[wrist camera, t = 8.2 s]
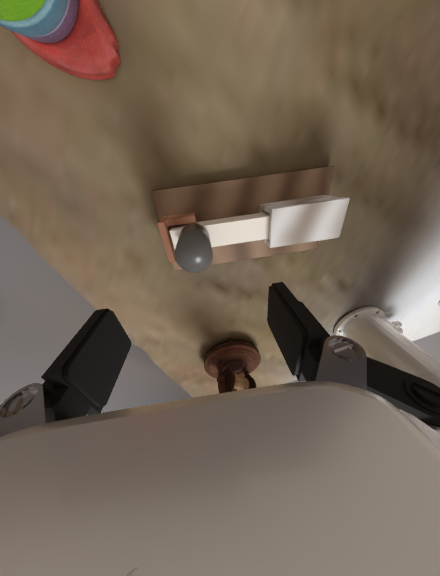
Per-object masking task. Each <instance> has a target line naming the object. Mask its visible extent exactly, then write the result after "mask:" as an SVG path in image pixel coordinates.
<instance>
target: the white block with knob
mask: <svg viewBox="0 0 440 576" xmlns="http://www.w3.org/2000/svg"><path fill="white" fill-rule="evenodd" d="M269 228H270V213H268V212H263V213H256V214H249V215H242V216H235V217H228V218H222V219H215V220H208V221H201V222H194V223H187V224H180V225H173V226H172V227H171V229H170V235H171V238H172V242H173V245H174V249H175V253H174V255H175V260H176V262H177V264H178V265H179V266H180V267H181V268H182V269H183V270H185V271H188V272H192V273H197V272H201V271H203V270H205V269H206V268H208V267H209V265H210V264H211V262H212V259H213V252H212V247H217V246H224V245H230V244H237V243H244V242H250V241H257V240H264V239H269Z"/></svg>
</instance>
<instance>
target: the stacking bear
mask: <svg viewBox="0 0 440 576" xmlns="http://www.w3.org/2000/svg"><path fill="white" fill-rule="evenodd" d="M0 26H2V27H4V28H6V29H8V30H10V31H11V32H12V33H13V34H14V35H15V36H16V37H17V38H18V39H19V40H20V41H21V42H22V43H23V44H24V45H25V46H26V47H27V48H28V49H30V50H31V51H32V52H33V53H35V54H36V55H37V56H39V57H40V58H42V59H43V60H45V61H46V62H48V63H49V64H51V65H53V66H54V67H56V68H58V69H60V70H62V71H64V72H67V73H69V74H71V75H74V76H77V77H80V78H84V79H90V80H105V79H110V78H113V77H114V76H115V75H116V70H117V68H118V67H119V65H120V60H121V59H120V55H119V53H118V49H119V46H118V41H117V38H116V35H115V33H114V32H113V30H112V28H111V27H110V25H109V24H108V22H107V20H106V18H105V17H104V15H103V13H102V10H101V8H100V6H99V3H98V1H97V0H0Z"/></svg>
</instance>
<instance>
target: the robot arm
mask: <svg viewBox="0 0 440 576" xmlns="http://www.w3.org/2000/svg"><path fill="white" fill-rule="evenodd" d="M267 321H268V325H269V327H270V329H271V331H272V333H273V335H274V338H275V340H276V342H277V344H278V346H279V348H280V350H281V352H282V354H283V357H284V359H285V361H286V363H287V365H288V367H289V369H290V371H291V373H292V375H296V377H297V379H298V381H305V380H306V382H296V383H287V384H280V385H273V386H266V387H258V388H252V389H246V390H239V391H233V392H227V393H220V394H214V395H208V396H202V397H195V398H189V399H183V400H177V401H171V402H165V403H160V404H154V405H147V406H140V407H135V408H129V409H123V410H117V411H111V412H105V413H101V410H102V408H103V406H105V405H106V403H107V401H108V399H109V397H110V395H111V392H112V389H113V387H114V385H115V383H116V380H117V378H118V375H119V373H120V371H121V368H122V366H123V364H124V361H125V359H126V357H127V354H128V352H129V350H130V347H131V341H130V339H129V337H128V336H127V334H126V332H125V331H124V329H123V327H122V326H121V324H120V322H119V321H118V319H117V317H116V316H115V314H114V312H113V311H111V310H109V309H100V310H96V311H95V312H94V313H93V314H92V316H91V317H90V318H89V319H88V320H87V322H86V323H85V324H84V325H83V326H82V328H81V329H80V330H79V331H78V333H77V334H76V335H75V336H74V338H73V339H72V340H71V341H70V342H69V344H68V345H67V346H66V347H65V349H64V350H63V351H62V352H61V353H60V355H59V356H58V357H57V358H56V360H55V361H54V362H53V363H52V365H51V366H50V367H49V368H48V370H47V371H46V372H45V373H44V374H43V376H42V377H41V378H43V379H44V380H45V382H44V383H43V385H42V384H40V383H32V384H29V385H27V386H25V387H23V388H21V389H19V390H18V391H16V392H15V393H13V394H12V395H11V396H9V397H8V398H7V399H6V400H5V401H4V402H3V403H2V404H1V405H0V576H440V363H439V362H438V361H436V360H435V359H434V358H432V357H431V356H430V355H429V354H427V353H426V352H425V351H423V350H422V349H420V348H419V347H418V346H417V345H415V344H414V343H413V342H411V341H410V340H409V339H407V338H406V337H405V336H403V335H402V333H403V331H402V329H401V328H400V327H401V326H402V324H401V323H400V322H399V321H396V322H392V323H390V322H389V321H388V320H386V319H385V313H384V312H383V311H382V310H380V309H379V308H377V307H363V308H360V309H357V310H355V311H352V312H351V313H349V314H347V315H346V316H345V317H343V318H342V319H341V320H340V321H339V322H338V323H337V325H336V327H335V329H334V336H330V335H329V334H328V333H327V331H326V330H325V329H324V328H323V327H322V325H321V324H320V323H319V322H318V321H317V320H316V318H315V317H314V316H313V315H312V314H311V312H310V311H309V310H308V309H307V308H306V306H305V305H304V304H303V303H302V302H300V301H298V300H297V299H296V298H295V296H294V295H293V294H292V293H291V292H290V290H289V289H288V288H287V287H286V285H285V284H284V283H283V282H279V283H273V284H272V286H270V287H269V297H268V317H267ZM86 415H87V416H86Z"/></svg>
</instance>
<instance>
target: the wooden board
mask: <svg viewBox="0 0 440 576" xmlns="http://www.w3.org/2000/svg"><path fill="white" fill-rule="evenodd" d="M333 169H334V166H329V167H322V168H315V169H307V170H300V171H293V172H286V173H278V174H271V175H264V176H257V177H250V178H242V179H235V180H228V181H221V182H214V183H206V184H199V185H192V186H185V187H177V188H170V189H163V190H156V191H151V194H152V197H153V201H154V204H155V207H156V211H157V214H158V217H159V222H158V223H157V224H158V227H159V231H160V234H161V237H162V240H163V244H164V247H165V250H166V254H167V257H168V260H169V263H172V265H173V268H174V270H181V269H182V268H181V267H180V266H179V265H178V264H177V262H176V260H175V255H174V253H175V249H174V245H173V242H172V238H171V235H170V229H171V227H172V226H173V225H180V224H187V223H194V222H201V221H208V220H215V219H222V218H228V217H235V216H242V215H249V214H256V213H263V212H268V213H270V228H269V239H264V240H257V241H250V242H244V243H237V244H230V245H224V246H217V247H212V252H213V259H212V262H211V264H210V265H213V264H220V263H226V262H233V261H239V260H246V259H252V258H259V257H265V256H272V255H278V254H285V253H291V252H298V251H304V250H311V249H317V245H318V241H319V240H326V239H333V238H339V236H340V233H341V229H342V225H343V222H344V218H345V214H346V211H347V207H348V203H349V200H350V198H346V197H338V196H329V195H328V193H329V188H330V183H331V178H332V173H333Z"/></svg>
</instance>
